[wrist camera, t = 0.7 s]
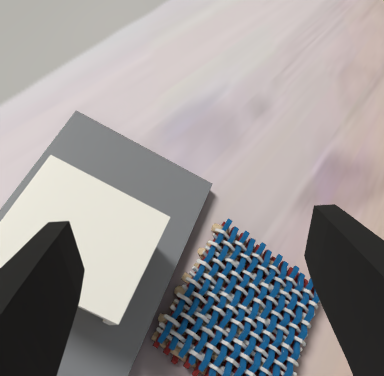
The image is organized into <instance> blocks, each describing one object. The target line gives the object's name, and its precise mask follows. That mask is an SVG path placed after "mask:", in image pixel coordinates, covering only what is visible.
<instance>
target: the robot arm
mask: <svg viewBox="0 0 384 376" xmlns="http://www.w3.org/2000/svg"><path fill="white" fill-rule="evenodd" d="M304 256H305V260H306V263H307V267H308V270H309V274H310V277H311V280H312V283H313V286H314V288H315V291H316V293H317V295H318V297H319V300H320V302H321V304H322V306H323V309H324V311H325V313H326V315H327V317H328V320H329V322H330V324H331V326H332V328H333V330H334V333H335V335H336V337H337V339H338V341H339V344H340V346H341V348H342V350H343V352H344V354H345V357H346V359H347V361H348V364H349V366H350V369H351V371H352V374H353V376H384V240H382V239H381V238H380V237H378V236H377V235H376V234H374V233H373V232H372V231H370V230H369V229H368V228H366V227H365V226H364V225H362V224H361V223H360V222H358V221H357V220H356V219H354V218H353V217H352V216H350V215H349V214H347V213H346V212H345V211H343V210H342V209H341V208H339V207H338V206H336V205H335V204H334V205H318V206H314V209H313V214H312V219H311V224H310V229H309V234H308V239H307V245H306V250H305V255H304ZM84 272H85V269H84V266H83V262H82V259H81V256H80V253H79V250H78V247H77V244H76V240H75V237H74V234H73V231H72V228H71V225H70V222H69V221H58V222H48V223H47V224H46V225H45V226H44V227H43V228H41V229H40V230H39V231H38V232H37V233H36V234H35V235H34V236H33V237H32V238H31V239H30V240H29V241H28V242H27V243H26V244H25V245H24V246H23V247H22V248H21V249H20V250H19V251H18V252H17V253H16V254H15V255H14V256H13V257H12V258H11V259H10V260H8V261H7V262H6V263H5V264H4V265H3V266H2V267H1V268H0V376H57V373H58V370H59V367H60V364H61V360H62V357H63V354H64V351H65V347H66V344H67V341H68V338H69V335H70V331H71V328H72V325H73V321H74V318H75V315H76V311H77V308H78V305H79V301H80V296H81V290H82V284H83V278H84Z"/></svg>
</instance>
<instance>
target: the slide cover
mask: <svg viewBox="0 0 384 376" xmlns="http://www.w3.org/2000/svg"><path fill="white" fill-rule="evenodd" d="M169 219H170V217H169V216H168V215H166V214H164V213H162V212H160V211H158V210H156V209H154V208H152V207H150V206H148V205H146V204H145V203H143V202H141V201H139V200H137V199H135V198H133V197H131V196H129V195H127V194H125V193H123V192H121V191H120V190H118V189H116V188H114V187H112V186H110V185H108V184H106V183H104V182H102V181H100V180H98V179H97V178H95V177H93V176H91V175H89V174H87V173H85V172H83V171H81V170H79V169H77V168H75V167H73V166H72V165H70V164H68V163H66V162H64V161H62V160H60V159H58V158H56V157H54V156H52V155H50V156H49V157H48V159H47V160H46V161H45V163H44V164H43V165H42V167H41V168H40V169H39V171H38V172H37V173H36V175H35V176H34V177H33V179H32V180H31V181H30V183H29V184H28V185H27V187H26V188H25V189H24V191H23V192H22V193H21V195H20V196H19V197H18V199H17V200H16V201H15V203H14V204H13V205H12V207H11V208H10V209H9V211H8V212H7V213H6V215H5V216H4V217H3V219H2V220H1V221H0V268H1V267H2V266H3V265H4V264H5V263H6V262H7V261H8V260H10V259H11V258H12V257H13V256H14V255H15V254H16V253H17V252H18V251H19V250H20V249H21V248H22V247H23V246H24V245H25V244H26V243H27V242H28V241H29V240H30V239H31V238H32V237H33V236H34V235H35V234H36V233H37V232H38V231H39V230H40V229H41V228H43V227H44V226H45V225H46V224H47V223H48V222H58V221H69V222H70V225H71V228H72V231H73V234H74V237H75V240H76V244H77V247H78V250H79V253H80V256H81V259H82V262H83V266H84V269H85V272H84V278H83V284H82V290H81V296H80V301H79V305H78V307H79V308H81V309H83V310H85V311H88V312H90V313H92V314H94V315H96V316H98V317H100V318H102V319H103V321H102V322H104V323H106V324H108V325H119V323H120V321H121V318H122V316H123V314H124V312H125V310H126V308H127V306H128V304H129V302H130V300H131V298H132V296H133V294H134V292H135V289H136V287H137V285H138V283H139V281H140V279H141V277H142V275H143V273H144V271H145V269H146V267H147V265H148V263H149V261H150V258H151V256H152V254H153V252H154V250H155V248H156V246H157V244H158V242H159V240H160V238H161V236H162V234H163V232H164V230H165V227H166V225H167V223H168V221H169Z"/></svg>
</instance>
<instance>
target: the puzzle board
mask: <svg viewBox="0 0 384 376" xmlns="http://www.w3.org/2000/svg"><path fill="white" fill-rule="evenodd" d="M50 155H52V156H54V157H56V158H58V159H60V160H62V161H64V162H66V163H68V164H70V165H72V166H73V167H75V168H77V169H79V170H81V171H83V172H85V173H87V174H89V175H91V176H93V177H95V178H97V179H98V180H100V181H102V182H104V183H106V184H108V185H110V186H112V187H114V188H116V189H118V190H120V191H121V192H123V193H125V194H127V195H129V196H131V197H133V198H135V199H137V200H139V201H141V202H143V203H145V204H146V205H148V206H150V207H152V208H154V209H156V210H158V211H160V212H162V213H164V214H166V215H168V216H169V217H170V219H169V221H168V223H167V225H166V227H165V230H164V232H163V234H162V236H161V238H160V240H159V242H158V244H157V246H156V248H155V250H154V252H153V254H152V256H151V258H150V261H149V263H148V265H147V267H146V269H145V271H144V273H143V275H142V277H141V279H140V281H139V283H138V285H137V287H136V289H135V292H134V294H133V296H132V298H131V300H130V302H129V304H128V306H127V308H126V310H125V312H124V314H123V316H122V318H121V321H120V323H119V325H108V324H106V323H104V322H102V321H103V319H102V318H100V317H98V316H96V315H94V314H92V313H90V312H88V311H85V310H83V309H81V308H79V307H78V308H77V311H76V315H75V318H74V321H73V325H72V328H71V331H70V335H69V338H68V341H67V344H66V347H65V351H64V354H63V357H62V360H61V364H60V367H59V370H58V373H57V376H128V375H129V372H130V370H131V368H132V366H133V363H134V361H135V359H136V357H137V354H138V352H139V350H140V347H141V345H142V343H143V341H144V338H145V336H146V334H147V332H148V329H149V327H150V325H151V322H152V320H153V318H154V316H155V313H156V311H157V309H158V307H159V304H160V302H161V300H162V297H163V295H164V293H165V291H166V288H167V286H168V284H169V282H170V279H171V277H172V275H173V272H174V270H175V268H176V266H177V263H178V261H179V259H180V257H181V254H182V252H183V250H184V247H185V245H186V243H187V241H188V238H189V236H190V234H191V232H192V229H193V227H194V225H195V222H196V220H197V218H198V216H199V213H200V211H201V209H202V207H203V204H204V202H205V200H206V198H207V195H208V193H209V191H210V188H211V186H212V183H210V182H208V181H206V180H204V179H202V178H201V177H199V176H197V175H195V174H193V173H191V172H189V171H188V170H186V169H184V168H182V167H180V166H178V165H177V164H175V163H173V162H171V161H169V160H167V159H165V158H164V157H162V156H160V155H158V154H156V153H154V152H152V151H151V150H149V149H147V148H145V147H143V146H141V145H139V144H138V143H136V142H134V141H132V140H130V139H128V138H126V137H125V136H123V135H121V134H119V133H117V132H115V131H113V130H112V129H110V128H108V127H106V126H104V125H102V124H100V123H99V122H97V121H95V120H93V119H91V118H89V117H87V116H86V115H84V114H82V113H80V112H78V111H75V113H74V114H73V115H72V117H71V118H70V119H69V121H68V122H67V123H66V124H65V126H64V127H63V128H62V130H61V131H60V132H59V134H58V135H57V136H56V138H55V139H54V140H53V141H52V143H51V144H50V145H49V147H48V148H47V149H46V151H45V152H44V153H43V155H42V156H41V157H40V159H39V160H38V161H37V162H36V164H35V165H34V166H33V168H32V169H31V170H30V172H29V173H28V174H27V176H26V177H25V178H24V179H23V181H22V182H21V183H20V185H19V186H18V187H17V189H16V190H15V191H14V193H13V194H12V195H11V196H10V198H9V199H8V200H7V202H6V203H5V204H4V206H3V207H2V208H1V210H0V221H1V220H2V219H3V217H4V216H5V215H6V213H7V212H8V211H9V209H10V208H11V207H12V205H13V204H14V203H15V201H16V200H17V199H18V197H19V196H20V195H21V193H22V192H23V191H24V189H25V188H26V187H27V185H28V184H29V183H30V181H31V180H32V179H33V177H34V176H35V175H36V173H37V172H38V171H39V169H40V168H41V167H42V165H43V164H44V163H45V161H46V160H47V159H48V157H49V156H50Z"/></svg>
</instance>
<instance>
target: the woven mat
mask: <svg viewBox="0 0 384 376" xmlns="http://www.w3.org/2000/svg"><path fill="white" fill-rule="evenodd" d="M231 223H232V221H231V220H230V219H228V220H227V222H226V223H225V222H223V224H222V225H218V224H214V225H213V226H212V231H213V232H216V234H215V233H213V237H214V240H213V241H211V240H209V241H208V242H207V244H206V246H205V248H199V250H198V254H199V256H200V257H201V258H202V260H200V259H197V263H200V264H197V263H195V264H194V266H193V268H192V269H193V270H194V271H195V273H193V272H192V271H191V272H190V273H189V275H188V274H187V273H184V275H183V277H182V278H181V280H183V281H184V282H185V283H187V286H186V285H185V284H183V285H182V287H181V286H180V285H179V286H177V287H175V291H174V293H175V294H177V296H178V297H179V298H178V300H177V299H176V298H175V300H174V302H172V304H171V306H170V307H169V308H170V309H171V310H172V312H171V314H170V316H168V315H167V314H165V315H164V314H160V315H159V317H158V321H159V322H160V323H159V326H160V327H162V329H161V328H159V327H158V328H157V329H156V330H157V331H158V332H159V333H158V332H156V331H155V332H154V334H153V336H152V337H151V339H152V340H154V341H155V342H154V344H153V346H154V347H156V348H158V347H159V345H160V346H161V347H163V348H164V351H163V353H165V354H166V355H168V354H169V353H172V354H173V357H172V360H171V362H172V363H173V364H177V362H178V359H181V360H182V361H184V362H185V363H184V365H183V366H184V367H185V368H187V369H188V368H189V366H191V367H193V368H194V371H193V373H192V375H193V376H197V375H198V374H199V372H200V373H202V374H203V375H204V376H292V375H293V376H296V375H297V373H296V372H294V371H293V367H294V365H295V366H296V367H298V362H296V360H297V359H298V358H300V356H301V355H300V351H302V350H303V349H302V348H301V347H300V344H302V345H303V346H304V347H305V346H306V343H305V342H304V341H303V340H304V339H305V337H306V338H307V337H308V334H307V329H308V327H309V329H310V328H311V327H312V326H311V324H310V323H309V322H310V321H311V319H312V318H313V317H314V316H315V313H314V307H315V308H316V309H317V308H318V307H319V306H318V305H317V303H320V300H319V297H318V295H317V293H316V291H315V288H314V286H313V283H312V280H311V278H310V280H309V283H308V281H307V280H306V279H305V278H304V277H305V275H304V274H302V273H300V274H299V273H298V271H299V268H298V267H297V266H294V267H293V268H291V267H290V268H289V269H288V271H287V266H288V263H287V262H285V261H282V262H281V260H282V257H283V256H281V255H280V254H278V255H277V257H276V258H275V257H273V256H272V258H271V259H270V256H271V253H272V252H271V251H269V250H266V251H265V252H264V254H263V256H262V257H261V256H260V255H261V253H262V252H263V250H264V248H265V246H266V244H264V243H261V244H260V246H259V245H258V244H257V245H256V247H255V249H254V251H252V250H253V246H254V243H255V240H254V239H252V238H251V239H249V240H248V242H247V244H246V246H245V245H244V244H243V243H244V242H245V240H246V239H247V237H248V235H249V233H248V232H247V231H245V232H244V233H241V234H240V236H239V238H238V239H237V240H236V239H235V237H236V234H237V232H238V230H239V229H238V228H237V227H233V228H232V229H231V231H230V233H229V231H228V230H227V229H228V227H229V226H230V224H231ZM222 239H223V240H222ZM219 243H223V245H222V246H220V245H219ZM229 248H230V249H231V250H230V249H229ZM206 249H208V251H207V250H206ZM240 251H241V252H242V253H240ZM214 254H215V255H216V258H215V257H213V255H214ZM238 255H239V256H240V257H239V256H238ZM246 259H247V261H248V263H247V264H246V263H245V262H246ZM222 260H225V262H224V264H223V263H222ZM280 262H281V263H280ZM207 263H209V264H211V265H210V266H209V265H208V264H207ZM257 263H258V264H257ZM279 263H280V265H279ZM232 265H233V266H234V268H233V270H232V269H231V268H232ZM278 265H279V267H278ZM255 267H256V269H254V268H255ZM218 270H219V271H220V272H217V271H218ZM263 271H264V275H263ZM240 272H243V273H242V275H241V276H240V275H239V274H240ZM190 275H191V276H192V277H191V276H190ZM226 275H227V276H228V277H229V278H227V277H226ZM201 276H203V279H202V278H201ZM294 278H295V279H294ZM272 279H273V280H272ZM224 280H225V281H226V282H225V281H224ZM271 280H272V281H271ZM200 282H201V283H200ZM210 282H211V283H213V285H211V284H210ZM236 282H237V285H236ZM258 284H260V285H259V287H258V286H257V285H258ZM233 287H234V288H233ZM244 287H245V289H244ZM194 289H196V290H197V292H194V291H193V290H194ZM267 289H268V291H267ZM310 290H311V291H310ZM217 293H218V294H220V295H217ZM242 293H243V294H242ZM203 295H204V296H206V298H205V299H204V298H203V297H202V296H203ZM254 295H255V297H254ZM297 295H298V297H297ZM200 300H201V301H200ZM185 301H186V302H187V303H188V304H189V306H187V305H185ZM213 302H215V305H212V304H213ZM237 306H238V307H237ZM183 308H184V309H183ZM185 309H186V310H185ZM195 310H197V311H198V312H197V311H195ZM245 312H246V314H245ZM219 313H220V314H219ZM279 313H280V314H279ZM193 314H194V315H196V317H195V316H194V315H193ZM232 315H233V317H232ZM178 316H181V317H182V319H181V321H180V322H177V321H176V318H177V317H178ZM231 317H232V318H231ZM277 317H278V318H277ZM254 318H255V319H254ZM203 320H204V321H203ZM188 322H189V323H190V324H191V326H190V328H189V329H188V328H186V327H187V324H188ZM215 324H216V325H215ZM263 324H264V326H263ZM214 328H215V329H214ZM250 328H251V329H250ZM198 330H199V332H198V335H197V334H196V332H197V331H198ZM169 333H171V334H172V336H171V335H169ZM222 333H223V334H224V335H222ZM259 334H260V335H259ZM207 337H210V339H209V341H208V342H207ZM167 338H168V339H167ZM256 338H257V339H258V340H257V339H256ZM179 339H180V340H181V342H179ZM243 342H244V343H243ZM218 343H219V344H218ZM217 344H218V345H217ZM216 345H217V347H215V346H216ZM241 346H242V347H243V348H241ZM190 348H191V349H190ZM227 349H228V350H229V351H228V353H227ZM226 353H227V355H226ZM196 357H197V358H196ZM237 357H238V359H237V361H235V359H236V358H237ZM246 363H247V366H246ZM219 365H221V366H219ZM280 367H281V369H280Z"/></svg>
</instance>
